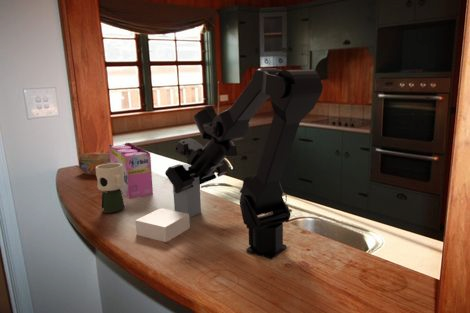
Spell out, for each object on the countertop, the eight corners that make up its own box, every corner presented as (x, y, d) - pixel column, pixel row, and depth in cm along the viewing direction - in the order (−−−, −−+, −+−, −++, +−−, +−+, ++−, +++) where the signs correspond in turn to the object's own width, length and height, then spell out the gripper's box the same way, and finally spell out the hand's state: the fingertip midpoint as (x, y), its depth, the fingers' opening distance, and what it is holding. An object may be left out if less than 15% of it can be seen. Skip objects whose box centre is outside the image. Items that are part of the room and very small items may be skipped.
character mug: (92, 209, 107) (87, 165, 105) (115, 203, 112) (111, 160, 110) (111, 219, 100) (106, 171, 97) (134, 211, 105) (130, 166, 102)
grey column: (201, 212, 103) (198, 166, 100) (188, 218, 99) (185, 170, 96) (187, 208, 106) (184, 164, 103) (175, 214, 102) (171, 168, 99)
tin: (79, 173, 147) (77, 152, 145) (85, 171, 150) (82, 151, 148) (112, 176, 143) (110, 154, 141) (117, 173, 146) (115, 152, 144)
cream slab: (189, 229, 93) (189, 213, 92) (166, 243, 85) (164, 227, 84) (161, 222, 97) (160, 208, 96) (136, 236, 90) (135, 220, 89)
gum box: (110, 181, 136) (106, 144, 133) (132, 177, 140) (128, 141, 137) (129, 199, 116) (125, 156, 113) (154, 194, 120) (151, 152, 117)
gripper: (217, 124, 103) (189, 159, 111) (168, 134, 88) (140, 173, 97) (242, 156, 100) (211, 189, 108) (195, 171, 85) (163, 208, 94)
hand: (183, 189), depth 102 cm, fingers closed on grey column, 5 cm apart
